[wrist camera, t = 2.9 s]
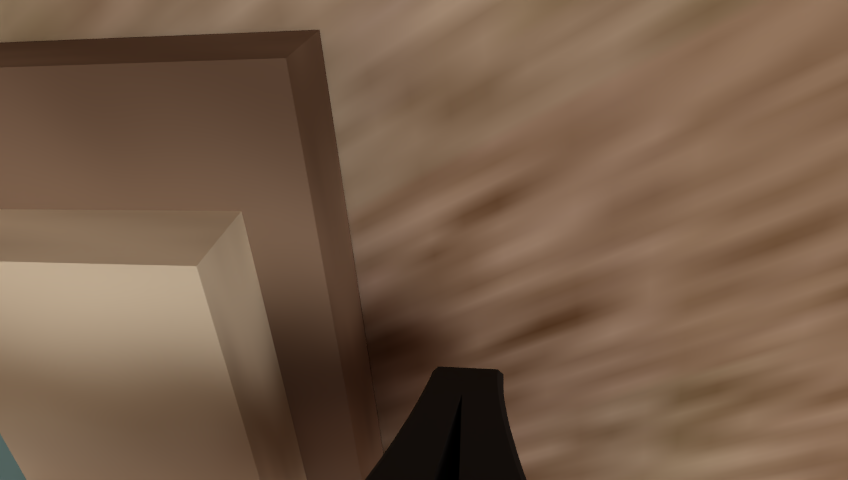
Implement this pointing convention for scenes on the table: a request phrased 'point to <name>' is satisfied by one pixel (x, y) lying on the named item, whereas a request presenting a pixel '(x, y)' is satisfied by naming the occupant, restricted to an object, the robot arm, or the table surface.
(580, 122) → the table surface
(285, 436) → the block
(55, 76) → the board
